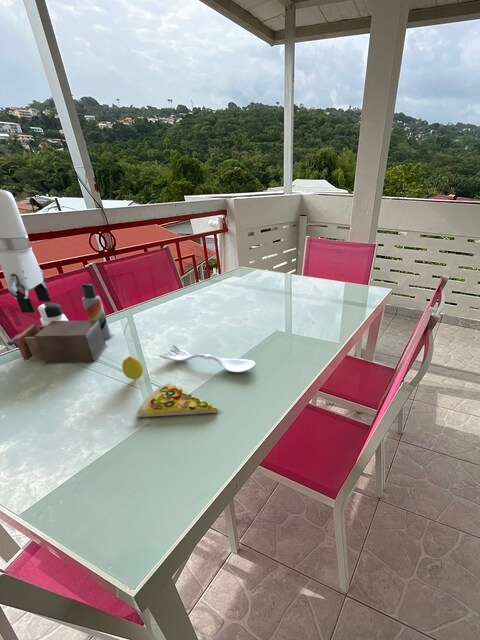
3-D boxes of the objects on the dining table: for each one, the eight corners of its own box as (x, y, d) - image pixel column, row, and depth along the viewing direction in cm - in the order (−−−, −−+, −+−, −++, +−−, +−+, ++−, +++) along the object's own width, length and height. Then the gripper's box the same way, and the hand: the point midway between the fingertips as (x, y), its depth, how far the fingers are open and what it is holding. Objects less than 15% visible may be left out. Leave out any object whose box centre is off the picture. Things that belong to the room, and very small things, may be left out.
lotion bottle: (91, 338, 124) (73, 284, 113) (103, 333, 129) (86, 280, 117) (103, 341, 123) (86, 286, 111) (114, 335, 127) (99, 282, 116)
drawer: (9, 361, 106) (-3, 338, 101) (27, 345, 115) (17, 324, 110) (70, 359, 108) (61, 337, 104) (82, 344, 118) (75, 323, 113)
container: (71, 333, 127) (59, 299, 120) (75, 340, 122) (63, 305, 115) (47, 337, 123) (33, 303, 115) (51, 345, 118) (36, 309, 111)
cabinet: (45, 363, 107) (34, 336, 102) (62, 346, 117) (52, 321, 112) (94, 362, 110) (85, 335, 104) (106, 345, 120) (98, 320, 114)
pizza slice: (164, 386, 100) (162, 378, 98) (229, 397, 97) (228, 389, 95) (132, 416, 87) (130, 407, 85) (205, 430, 84) (204, 421, 82)
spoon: (174, 352, 118) (172, 343, 116) (259, 365, 113) (258, 356, 111) (160, 363, 111) (158, 354, 109) (250, 378, 106) (249, 369, 104)
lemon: (149, 378, 103) (143, 355, 98) (133, 386, 99) (127, 362, 94) (137, 373, 105) (131, 350, 101) (122, 380, 101) (115, 357, 97)
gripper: (14, 237, 95) (37, 297, 104) (-24, 249, 81) (6, 316, 90) (43, 239, 96) (63, 297, 105) (11, 250, 82) (37, 317, 91)
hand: (37, 306), depth 98 cm, fingers open, 9 cm apart
